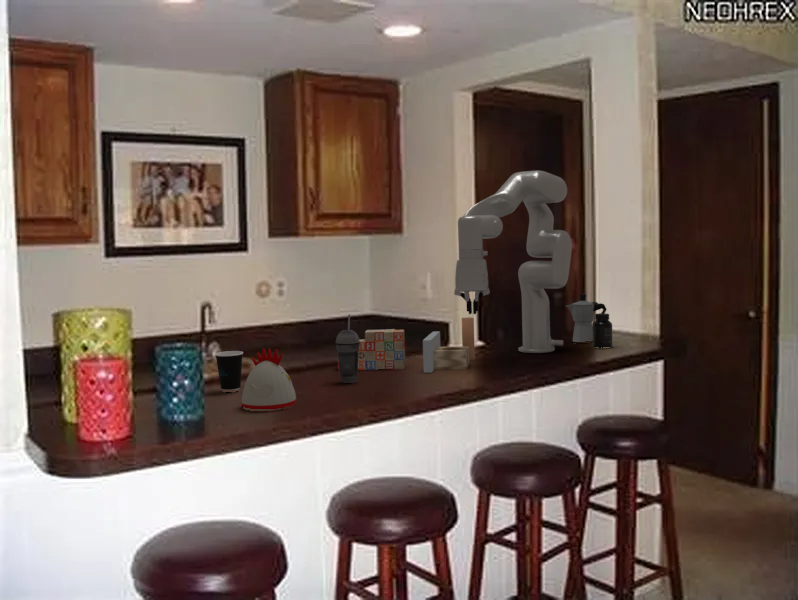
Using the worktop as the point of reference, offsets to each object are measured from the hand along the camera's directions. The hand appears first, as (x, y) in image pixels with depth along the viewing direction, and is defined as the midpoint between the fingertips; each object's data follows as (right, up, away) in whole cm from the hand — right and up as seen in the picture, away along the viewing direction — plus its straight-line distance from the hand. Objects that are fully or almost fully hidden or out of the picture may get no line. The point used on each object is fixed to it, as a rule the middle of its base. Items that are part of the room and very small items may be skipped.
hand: (472, 313), depth 262 cm
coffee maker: (+47, -12, +47) cm, 68 cm away
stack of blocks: (-32, -18, +5) cm, 37 cm away
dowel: (0, -16, +16) cm, 22 cm away
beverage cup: (-38, -20, -19) cm, 47 cm away
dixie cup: (-71, -22, -27) cm, 79 cm away
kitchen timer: (-57, -23, -49) cm, 78 cm away
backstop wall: (-12, -17, +4) cm, 22 cm away
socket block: (-6, -17, +3) cm, 19 cm away
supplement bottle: (+49, -13, +33) cm, 60 cm away
